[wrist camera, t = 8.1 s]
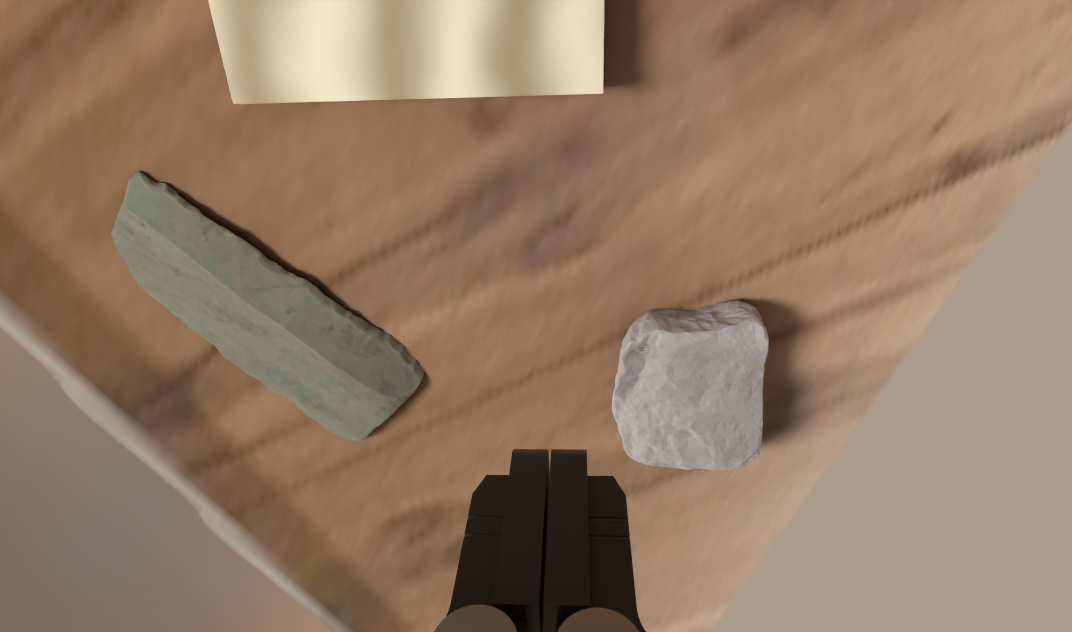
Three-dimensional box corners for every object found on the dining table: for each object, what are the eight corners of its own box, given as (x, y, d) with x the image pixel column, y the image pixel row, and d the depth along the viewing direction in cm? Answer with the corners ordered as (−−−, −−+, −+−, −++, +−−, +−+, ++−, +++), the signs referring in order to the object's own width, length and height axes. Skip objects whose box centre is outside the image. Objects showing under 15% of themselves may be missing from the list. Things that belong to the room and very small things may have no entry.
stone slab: (365, 431, 49) (436, 363, 44) (351, 456, 47) (425, 388, 42) (102, 252, 44) (150, 151, 38) (72, 272, 41) (119, 167, 36)
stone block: (623, 431, 48) (759, 440, 46) (613, 472, 44) (762, 485, 42) (613, 292, 43) (766, 292, 40) (602, 323, 39) (771, 327, 36)
